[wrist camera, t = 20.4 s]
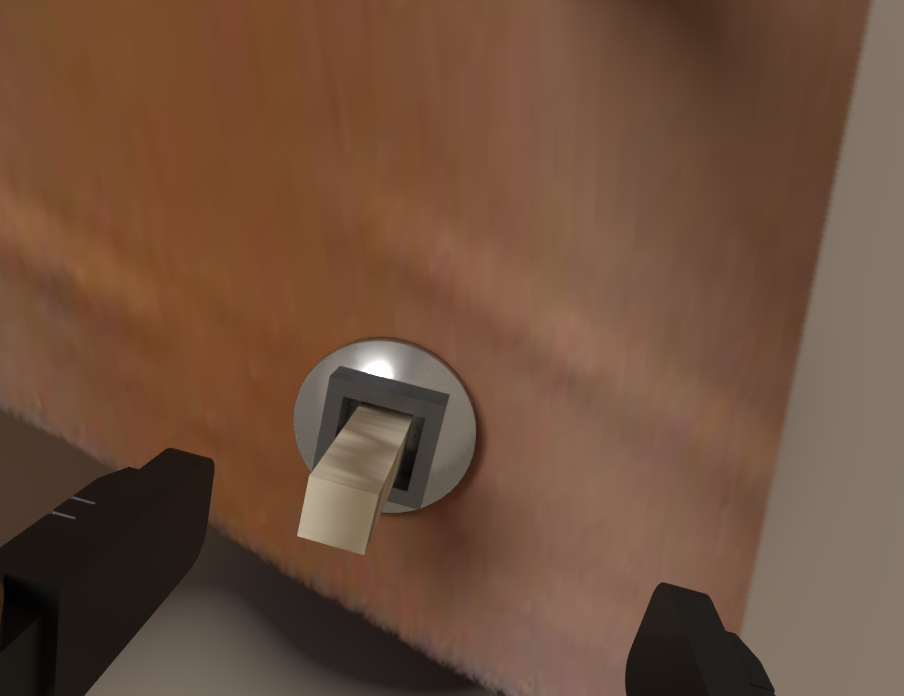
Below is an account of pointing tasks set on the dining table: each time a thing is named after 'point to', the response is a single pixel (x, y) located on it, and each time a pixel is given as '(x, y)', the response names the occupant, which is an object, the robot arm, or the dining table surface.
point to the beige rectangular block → (355, 478)
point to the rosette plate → (399, 388)
